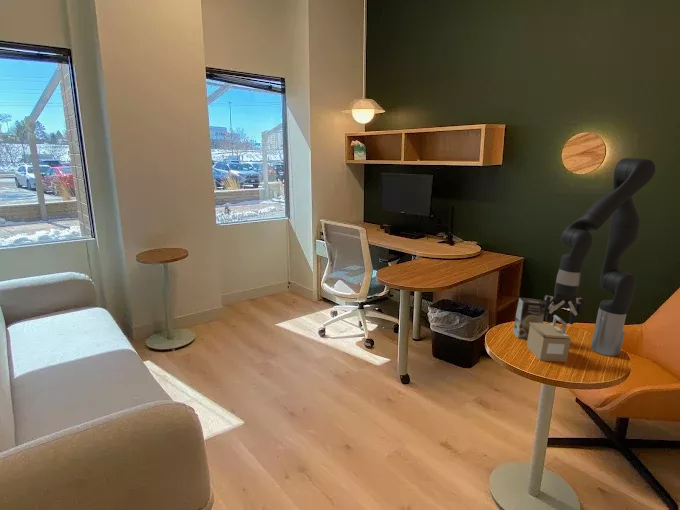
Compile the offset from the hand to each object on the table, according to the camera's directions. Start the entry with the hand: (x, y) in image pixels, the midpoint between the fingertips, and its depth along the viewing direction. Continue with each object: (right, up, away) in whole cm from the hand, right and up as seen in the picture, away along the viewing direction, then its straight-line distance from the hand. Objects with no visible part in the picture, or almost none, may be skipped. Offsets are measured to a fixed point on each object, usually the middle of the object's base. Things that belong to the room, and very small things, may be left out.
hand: (559, 322), depth 158 cm
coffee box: (-4, -9, +19) cm, 21 cm away
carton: (-4, -12, +3) cm, 13 cm away
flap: (-4, -3, +1) cm, 5 cm away
